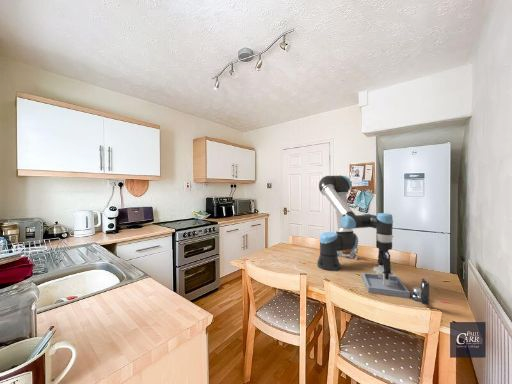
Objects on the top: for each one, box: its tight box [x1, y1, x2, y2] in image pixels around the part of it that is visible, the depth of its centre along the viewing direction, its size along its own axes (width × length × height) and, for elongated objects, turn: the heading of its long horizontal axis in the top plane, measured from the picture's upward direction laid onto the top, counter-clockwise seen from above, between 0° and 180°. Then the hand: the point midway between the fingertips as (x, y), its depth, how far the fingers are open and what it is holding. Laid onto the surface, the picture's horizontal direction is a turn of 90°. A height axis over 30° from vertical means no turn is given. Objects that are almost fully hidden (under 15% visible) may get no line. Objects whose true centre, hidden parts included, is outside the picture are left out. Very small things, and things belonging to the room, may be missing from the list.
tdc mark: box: [440, 300, 450, 304], centre depth 105 cm, size 3×1×1 cm, turn 73°
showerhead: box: [373, 265, 394, 281], centre depth 120 cm, size 9×7×10 cm
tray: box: [361, 272, 411, 299], centre depth 120 cm, size 19×19×3 cm
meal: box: [337, 246, 359, 261], centre depth 166 cm, size 15×4×13 cm, turn 53°
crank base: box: [409, 291, 421, 303], centre depth 108 cm, size 6×6×2 cm
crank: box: [412, 278, 430, 306], centre depth 104 cm, size 12×4×11 cm, turn 163°
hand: (383, 280), depth 120 cm, fingers closed on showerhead, 9 cm apart
